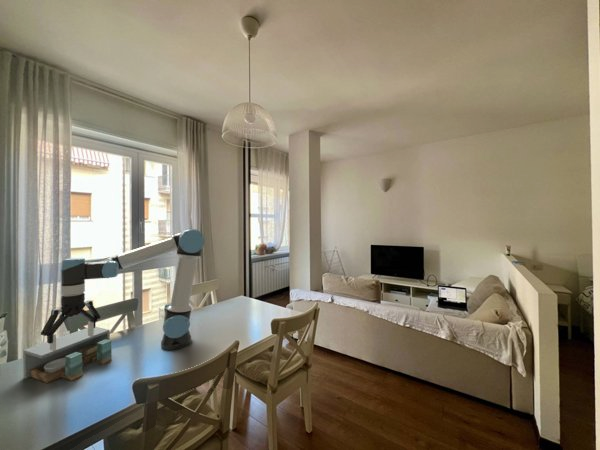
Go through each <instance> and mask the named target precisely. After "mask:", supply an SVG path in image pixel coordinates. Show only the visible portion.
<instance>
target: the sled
mask: <svg viewBox="0 0 600 450" xmlns="http://www.w3.org/2000/svg"><path fill="white" fill-rule="evenodd" d="M60 358H65V367H64V368H62V369H60V370H58V371H55V372H53V373H51V374H48V373H45V369H44V366H45V365H46V364H47V363H45V364H43V365H40V366H38V367H35V368H33V369H31V370H30V377H29V378H33V379H36V380H38V381H41V382H44V383H47V384H49V383H51V382H53V381H56V380H58V379H59V378H63V379H66V380H70V381H74V380H76V379H78V378H80V377H82V376H84V371H83V367H85V364H84V360H83V359H82V353H79V352H75V353H72V354H70V355H65V356H63V357H60ZM60 358H58V359H60ZM55 360H57V359H55ZM53 361H54V360H53ZM50 362H51V361H50ZM48 363H49V362H48Z"/></svg>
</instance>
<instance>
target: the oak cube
mask: <svg viewBox="0 0 600 450" xmlns="http://www.w3.org/2000/svg"><path fill="white" fill-rule="evenodd" d="M95 351H97V346H95V345H89V346H87V347H84V348H82V349H80V353H82V355H84V356H86V355H88V354H90V353H93V352H95Z"/></svg>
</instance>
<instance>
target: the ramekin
mask: <svg viewBox="0 0 600 450" xmlns="http://www.w3.org/2000/svg"><path fill="white" fill-rule="evenodd" d="M64 367H65V358H60V359H57V360H54V361H51V362H49V363H47V364H46V365H45V366H44V369H45V371H44V372H45V373H48V374H51V373H53V372H55V371H58V370H60V369H62V368H64Z"/></svg>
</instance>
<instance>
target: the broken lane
mask: <svg viewBox="0 0 600 450" xmlns="http://www.w3.org/2000/svg"><path fill="white" fill-rule="evenodd" d="M78 352H79V353H80V351H78ZM82 359H83V360H84V365H85V364H88V363H90V362H91V363H94V362H95V363H96V364H98V365H101V366H103V365H106V364H108V363H109V362H111V361H113V360H112V340H111V339H110V340H107V339H105V340H103V341H100V342H98V343H97V351H95V352H93V353H90V354H88V355H86V356H84V355H82Z"/></svg>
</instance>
